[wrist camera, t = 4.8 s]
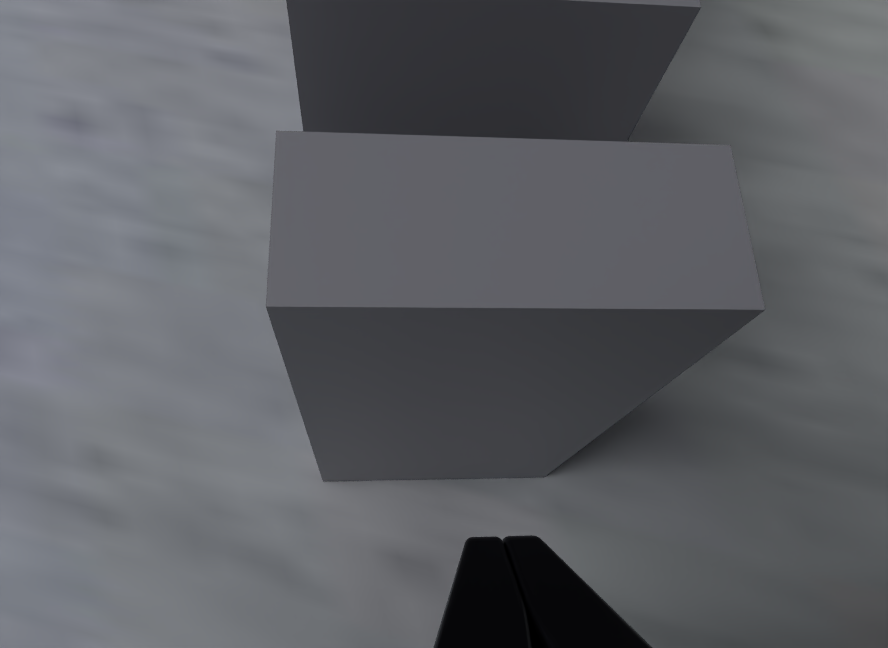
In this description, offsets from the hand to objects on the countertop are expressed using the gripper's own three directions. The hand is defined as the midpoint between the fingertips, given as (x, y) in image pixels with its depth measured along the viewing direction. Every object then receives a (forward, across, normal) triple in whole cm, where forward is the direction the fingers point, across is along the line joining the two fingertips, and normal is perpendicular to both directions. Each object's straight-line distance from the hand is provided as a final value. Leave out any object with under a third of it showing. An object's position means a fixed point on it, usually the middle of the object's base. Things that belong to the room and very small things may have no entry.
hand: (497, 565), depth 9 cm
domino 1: (+10, 0, 0) cm, 11 cm away
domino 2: (+8, 0, +3) cm, 8 cm away
